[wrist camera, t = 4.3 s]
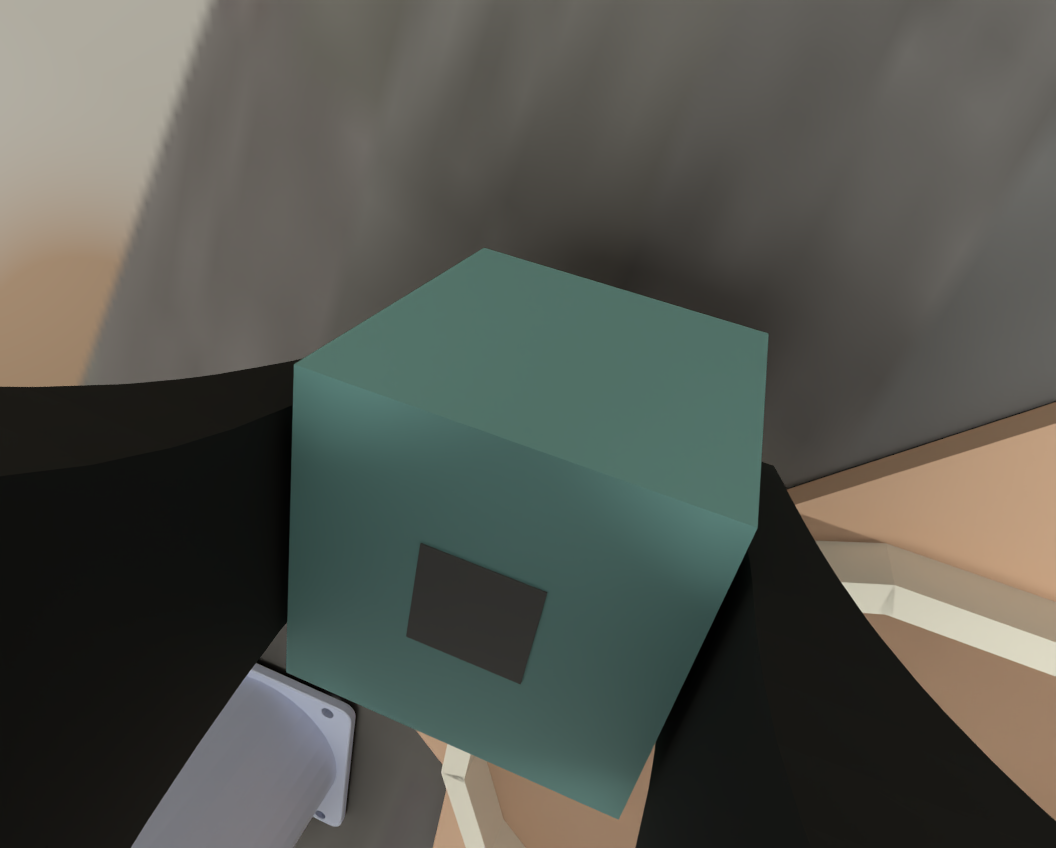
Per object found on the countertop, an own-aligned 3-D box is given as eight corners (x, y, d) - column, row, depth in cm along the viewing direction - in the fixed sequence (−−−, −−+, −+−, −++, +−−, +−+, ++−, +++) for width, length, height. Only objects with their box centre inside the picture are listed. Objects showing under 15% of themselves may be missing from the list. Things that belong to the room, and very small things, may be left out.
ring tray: (338, 853, 32) (309, 904, 30) (405, 188, 16) (354, 205, 15) (1034, 1196, 27) (1054, 1285, 25) (2118, 689, 11) (2400, 822, 9)
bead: (445, 476, 13) (284, 673, 9) (484, 248, 11) (291, 365, 7) (674, 561, 12) (618, 821, 8) (768, 333, 10) (757, 529, 6)
